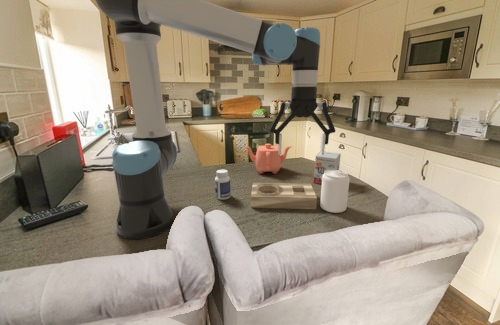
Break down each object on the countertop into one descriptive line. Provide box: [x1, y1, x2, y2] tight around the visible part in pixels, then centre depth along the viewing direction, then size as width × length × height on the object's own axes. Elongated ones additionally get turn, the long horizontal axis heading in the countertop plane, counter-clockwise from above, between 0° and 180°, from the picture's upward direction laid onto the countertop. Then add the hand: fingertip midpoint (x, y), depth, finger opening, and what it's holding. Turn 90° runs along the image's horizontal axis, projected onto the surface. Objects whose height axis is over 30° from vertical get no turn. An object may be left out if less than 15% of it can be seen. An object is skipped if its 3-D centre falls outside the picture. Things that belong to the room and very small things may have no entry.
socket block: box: [250, 182, 318, 210], centre depth 87 cm, size 12×21×4 cm, turn 86°
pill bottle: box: [214, 169, 231, 200], centre depth 90 cm, size 5×5×10 cm
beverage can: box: [319, 169, 351, 214], centre depth 80 cm, size 8×8×12 cm
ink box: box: [313, 150, 342, 185], centre depth 103 cm, size 9×9×12 cm
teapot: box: [243, 143, 293, 174], centre depth 117 cm, size 15×17×13 cm
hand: (300, 154), depth 83 cm, fingers open, 13 cm apart
